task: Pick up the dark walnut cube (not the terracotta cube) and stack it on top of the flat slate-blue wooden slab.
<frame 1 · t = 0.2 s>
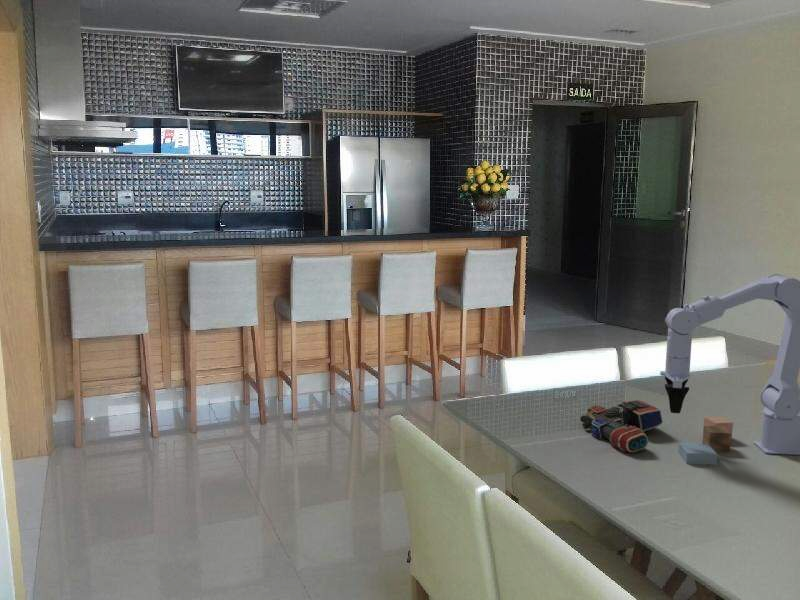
hand: (675, 408, 181), 10 cm above the table, tool pointing down, fingers open, 7 cm apart
walnut block: (715, 448, 181), on the table
terracotta block: (717, 437, 188), on the table
blue slab: (696, 460, 173), on the table
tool: (629, 437, 189), on the table
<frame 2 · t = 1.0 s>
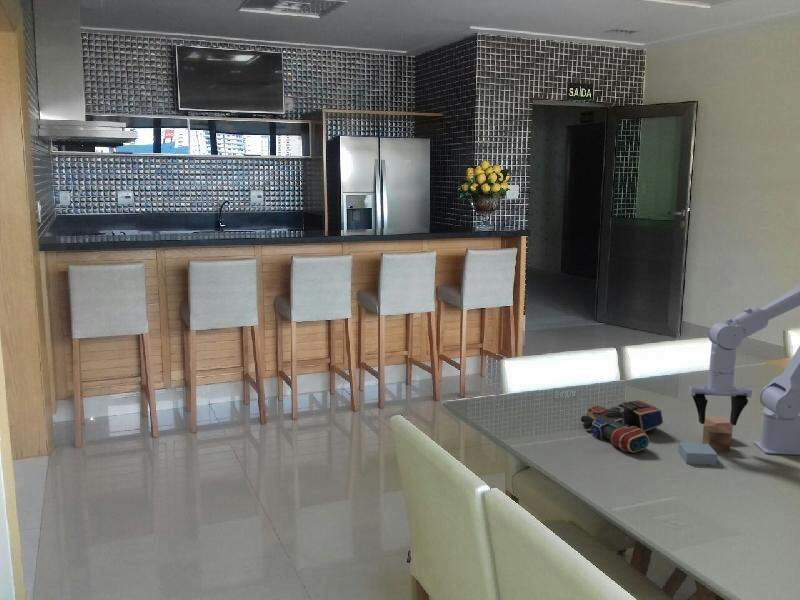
hand: (717, 423, 180), 6 cm above the table, tool pointing down, fingers open, 7 cm apart
nothing on the table moved.
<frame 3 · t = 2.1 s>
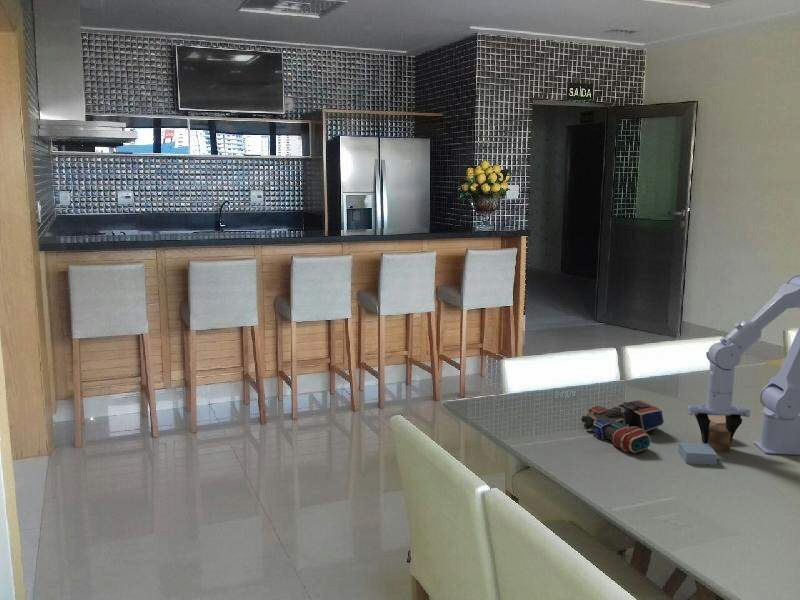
hand: (716, 442, 180), 1 cm above the table, tool pointing down, fingers closed on walnut block, 5 cm apart
walnut block: (715, 448, 181), on the table, touching gripper
everything else where it was.
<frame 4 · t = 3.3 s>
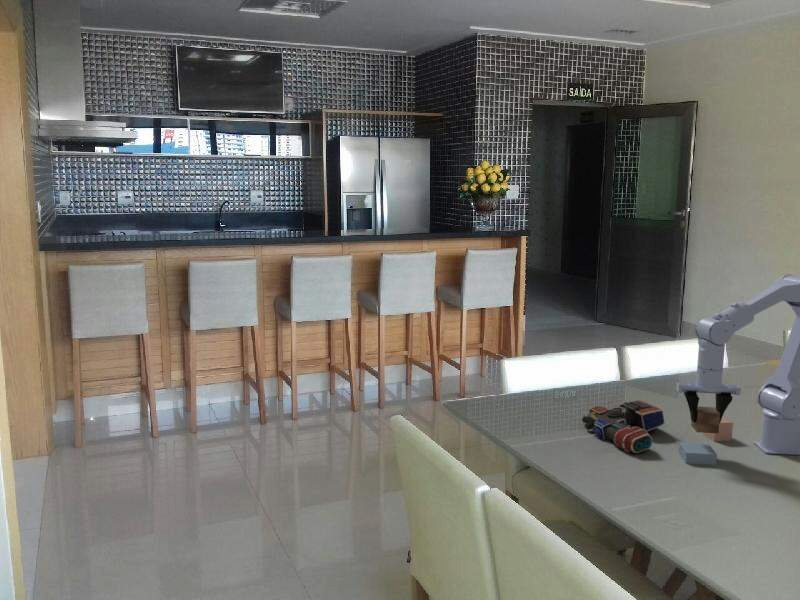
hand: (705, 421, 174), 9 cm above the table, tool pointing down, fingers closed on walnut block, 5 cm apart
walnut block: (704, 429, 175), point 6 cm above the table, touching gripper
everything else where it was.
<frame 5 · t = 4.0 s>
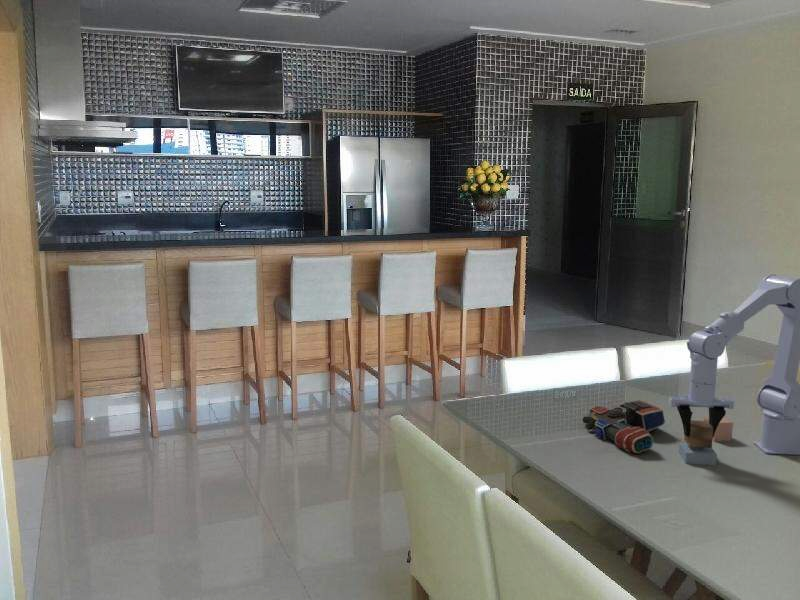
hand: (698, 435, 172), 6 cm above the table, tool pointing down, fingers closed on walnut block, 5 cm apart
walnut block: (697, 443, 173), point 4 cm above the table, touching gripper
everything else where it was.
when the fingers open (6 cm above the table, at t = 4.5 s): walnut block stays where it is, point 3 cm above the table.
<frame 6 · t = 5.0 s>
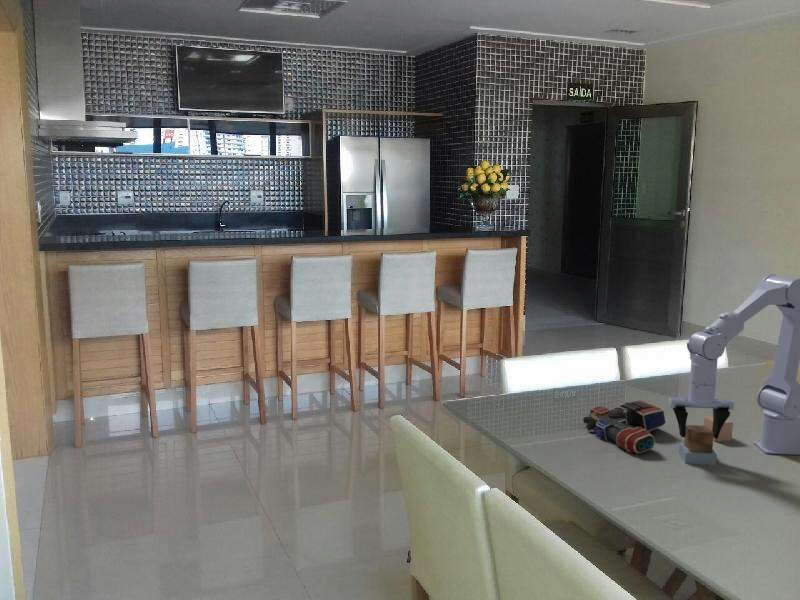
hand: (698, 436, 172), 6 cm above the table, tool pointing down, fingers open, 7 cm apart
walnut block: (697, 448, 173), point 3 cm above the table
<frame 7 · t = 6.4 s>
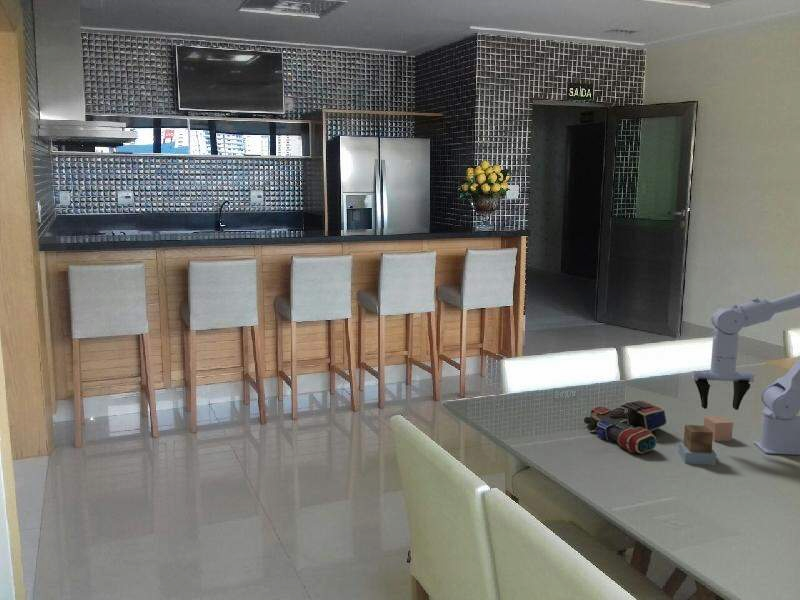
hand: (719, 408, 181), 10 cm above the table, tool pointing down, fingers open, 7 cm apart
walnut block: (697, 448, 173), point 3 cm above the table, touching blue slab
blue slab: (696, 460, 173), on the table, touching walnut block
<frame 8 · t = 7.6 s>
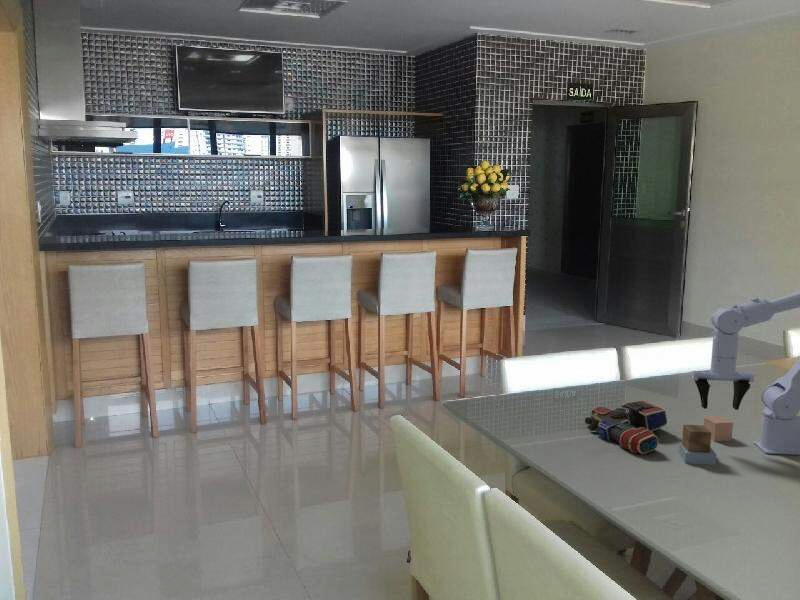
hand: (719, 408, 181), 10 cm above the table, tool pointing down, fingers open, 7 cm apart
walnut block: (695, 448, 173), point 3 cm above the table
blue slab: (696, 460, 173), on the table
at the end: walnut block 0.3 cm off-centre on the blue slab, point 3.0 cm above the blue slab's base; walnut block tilted 0°; the gripper is holding nothing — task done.
